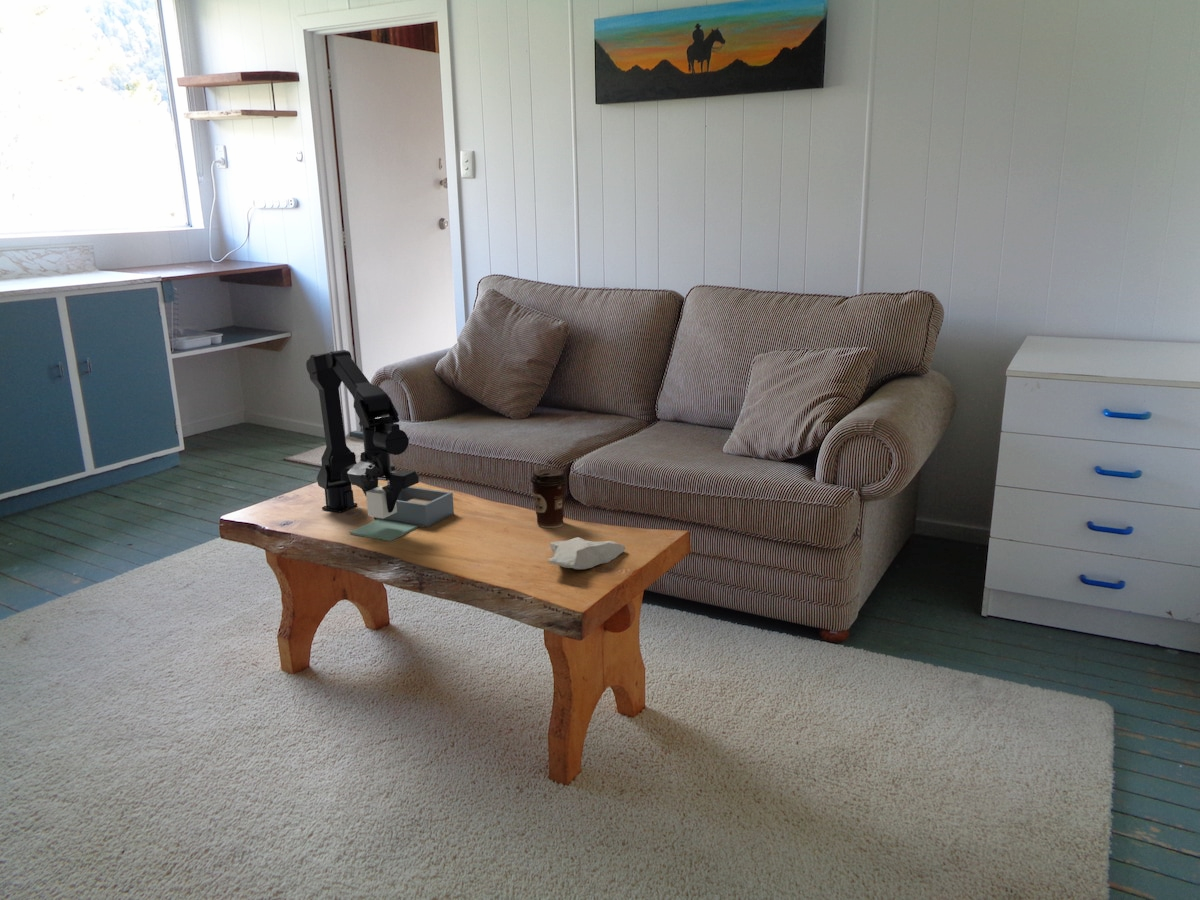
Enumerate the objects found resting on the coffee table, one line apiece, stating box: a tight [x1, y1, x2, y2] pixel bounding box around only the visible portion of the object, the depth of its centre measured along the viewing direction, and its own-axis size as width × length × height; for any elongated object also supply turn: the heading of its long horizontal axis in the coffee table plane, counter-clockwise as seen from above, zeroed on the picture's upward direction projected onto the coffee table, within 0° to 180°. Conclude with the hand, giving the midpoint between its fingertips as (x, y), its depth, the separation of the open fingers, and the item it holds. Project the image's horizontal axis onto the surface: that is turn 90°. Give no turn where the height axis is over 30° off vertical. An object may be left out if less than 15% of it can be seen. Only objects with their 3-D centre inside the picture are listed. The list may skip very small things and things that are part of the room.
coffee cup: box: [529, 468, 568, 529], centre depth 217 cm, size 9×8×13 cm
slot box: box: [373, 486, 455, 528], centre depth 226 cm, size 16×11×6 cm
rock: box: [547, 536, 626, 570], centre depth 195 cm, size 21×5×15 cm
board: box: [349, 519, 419, 542], centre depth 217 cm, size 12×10×1 cm
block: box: [365, 485, 397, 519], centre depth 215 cm, size 4×5×6 cm
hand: (382, 510), depth 215 cm, fingers closed on block, 4 cm apart
